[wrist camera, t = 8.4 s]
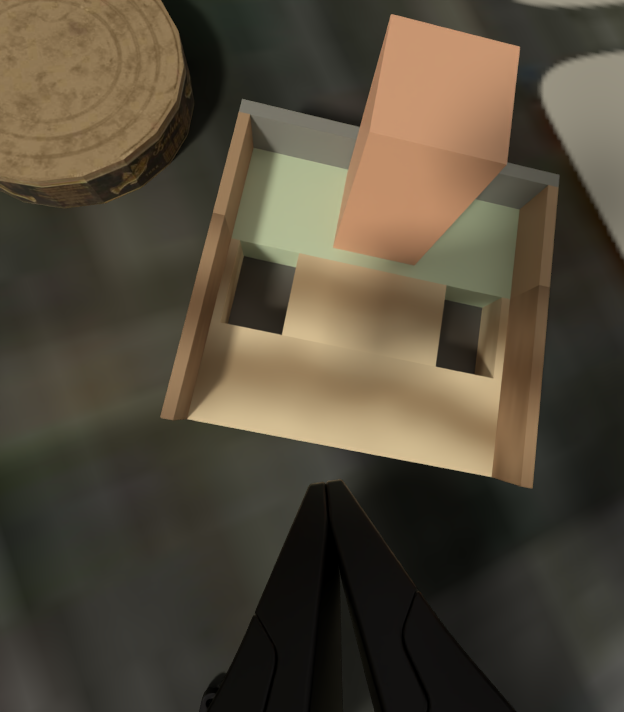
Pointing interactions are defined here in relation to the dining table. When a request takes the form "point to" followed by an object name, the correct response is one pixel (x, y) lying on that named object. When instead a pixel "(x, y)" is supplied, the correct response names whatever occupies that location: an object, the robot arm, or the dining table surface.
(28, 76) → the wood slice
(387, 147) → the terracotta block
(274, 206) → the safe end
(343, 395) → the board
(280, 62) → the dining table surface
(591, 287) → the dining table surface
